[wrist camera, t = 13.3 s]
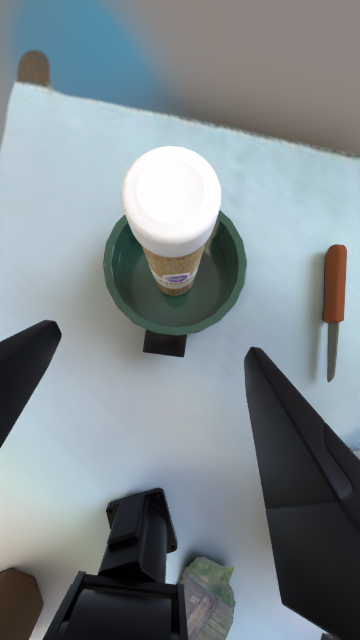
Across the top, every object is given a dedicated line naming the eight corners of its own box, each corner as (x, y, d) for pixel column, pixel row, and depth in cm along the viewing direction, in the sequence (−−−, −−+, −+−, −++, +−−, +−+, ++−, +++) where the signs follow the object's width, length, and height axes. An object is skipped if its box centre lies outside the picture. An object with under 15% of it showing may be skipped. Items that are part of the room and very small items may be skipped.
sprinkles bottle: (163, 302, 21) (140, 257, 8) (149, 266, 21) (102, 160, 8) (200, 287, 21) (239, 218, 8) (185, 251, 22) (200, 125, 8)
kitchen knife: (323, 248, 22) (337, 241, 20) (334, 250, 22) (350, 242, 20) (316, 379, 22) (330, 384, 20) (327, 380, 22) (343, 385, 20)
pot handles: (183, 356, 18) (184, 357, 18) (144, 351, 18) (142, 352, 18) (205, 188, 19) (206, 182, 18) (167, 182, 19) (167, 176, 18)
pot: (225, 340, 22) (237, 343, 17) (110, 325, 22) (93, 324, 17) (238, 229, 22) (253, 204, 18) (127, 214, 22) (114, 185, 18)
